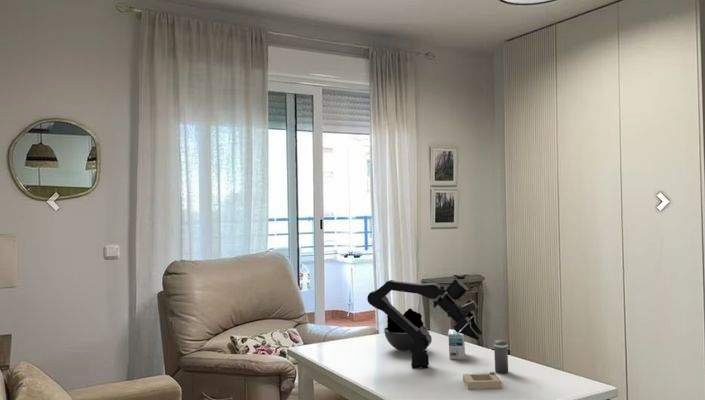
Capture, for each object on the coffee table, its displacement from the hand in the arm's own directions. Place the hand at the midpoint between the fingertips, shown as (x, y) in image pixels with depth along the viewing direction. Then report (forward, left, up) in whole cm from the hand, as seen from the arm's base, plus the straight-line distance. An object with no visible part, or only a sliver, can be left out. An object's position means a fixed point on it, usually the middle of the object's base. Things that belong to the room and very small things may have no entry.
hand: (480, 336), depth 220 cm
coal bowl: (-27, +34, -14) cm, 45 cm away
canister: (+7, -3, -13) cm, 16 cm away
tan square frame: (-4, -17, -13) cm, 22 cm away
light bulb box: (-6, +22, -14) cm, 27 cm away
